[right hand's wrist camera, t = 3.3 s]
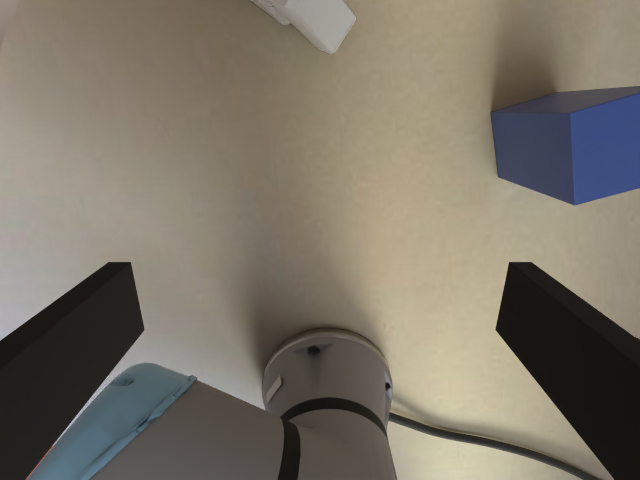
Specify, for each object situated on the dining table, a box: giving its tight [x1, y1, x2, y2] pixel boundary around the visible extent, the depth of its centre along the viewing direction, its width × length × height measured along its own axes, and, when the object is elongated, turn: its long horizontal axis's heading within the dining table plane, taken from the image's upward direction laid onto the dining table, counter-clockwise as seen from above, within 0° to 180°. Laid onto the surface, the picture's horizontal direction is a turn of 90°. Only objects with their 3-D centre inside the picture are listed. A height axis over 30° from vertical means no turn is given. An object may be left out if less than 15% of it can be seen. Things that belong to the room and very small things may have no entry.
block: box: [491, 86, 640, 205], centre depth 28 cm, size 6×6×11 cm
